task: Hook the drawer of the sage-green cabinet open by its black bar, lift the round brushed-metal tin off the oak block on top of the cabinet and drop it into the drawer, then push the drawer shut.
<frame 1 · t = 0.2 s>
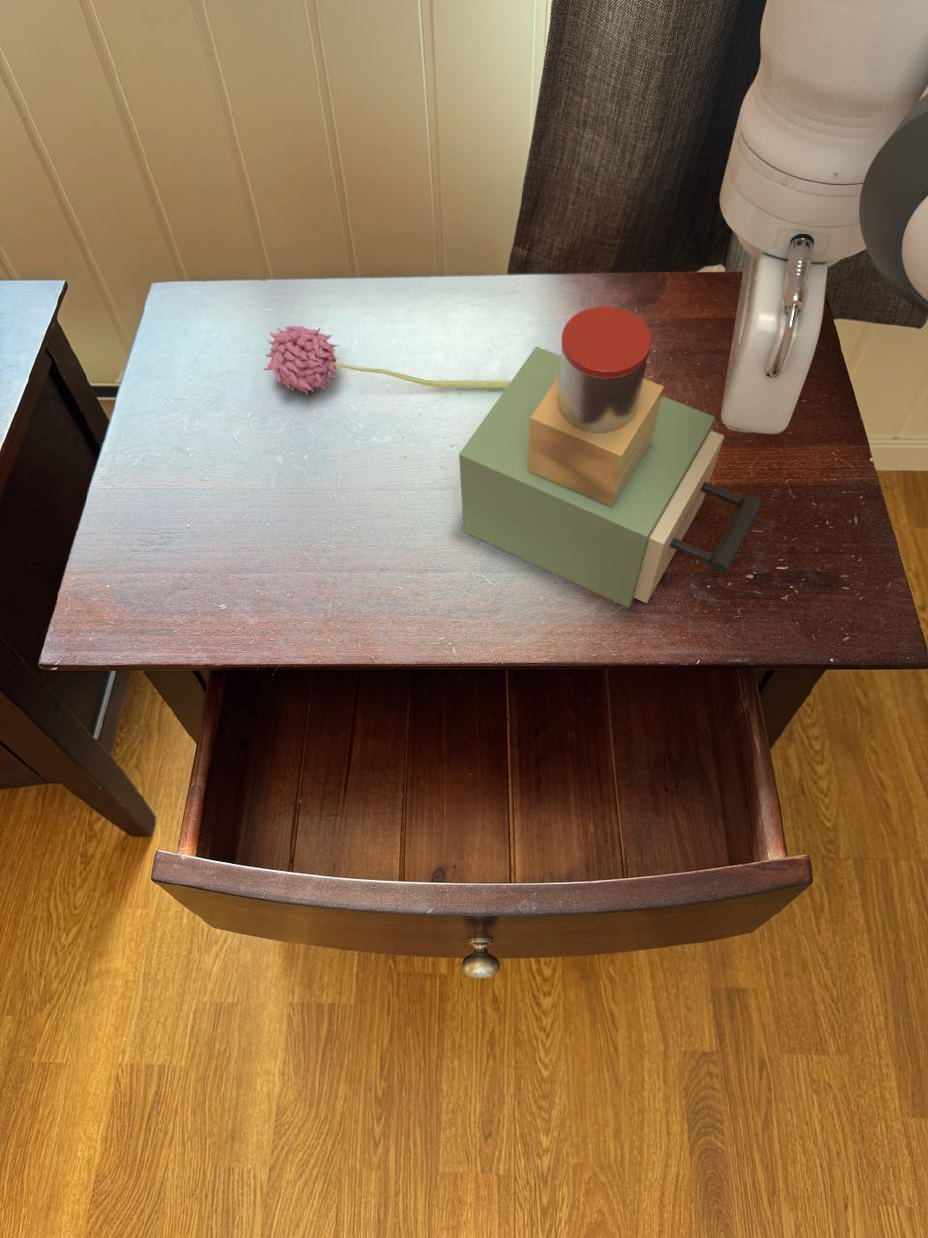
hand: (747, 367, 61), 21 cm above the nightstand, tool pointing down, fingers open, 8 cm apart
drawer: (628, 497, 75), point 5 cm above the nightstand, slide at 0.0 cm, touching cabinet
riser: (590, 455, 70), resting on cabinet
tin: (597, 401, 65), point 17 cm above the nightstand, touching riser
artificial flower: (400, 385, 89), on the nightstand
cabinet: (577, 514, 81), on the nightstand
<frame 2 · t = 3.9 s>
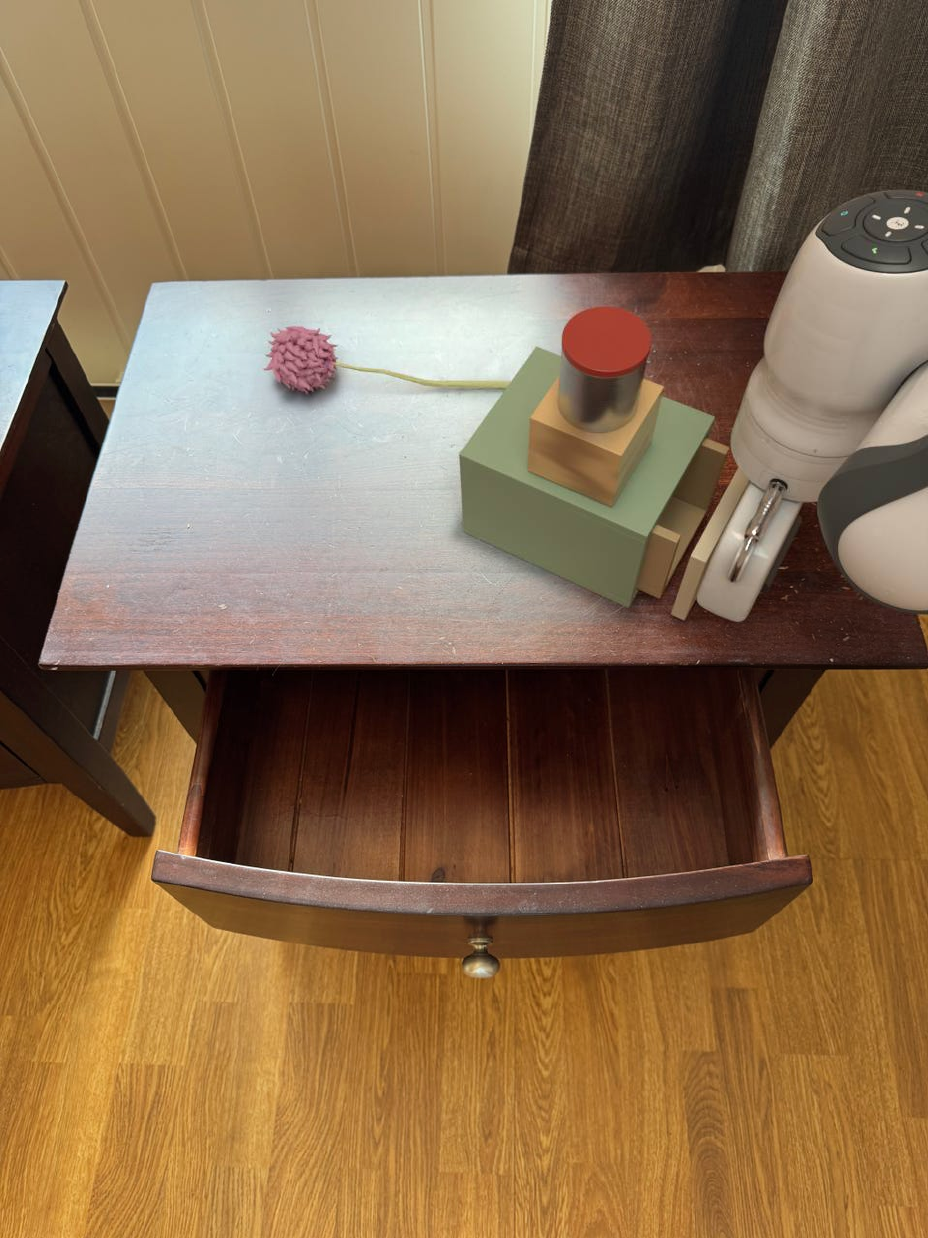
hand: (753, 548, 72), 6 cm above the nightstand, tool pointing down, fingers closed, pressing on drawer
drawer: (666, 513, 74), point 5 cm above the nightstand, slide at 3.3 cm, touching gripper
everything else where it was.
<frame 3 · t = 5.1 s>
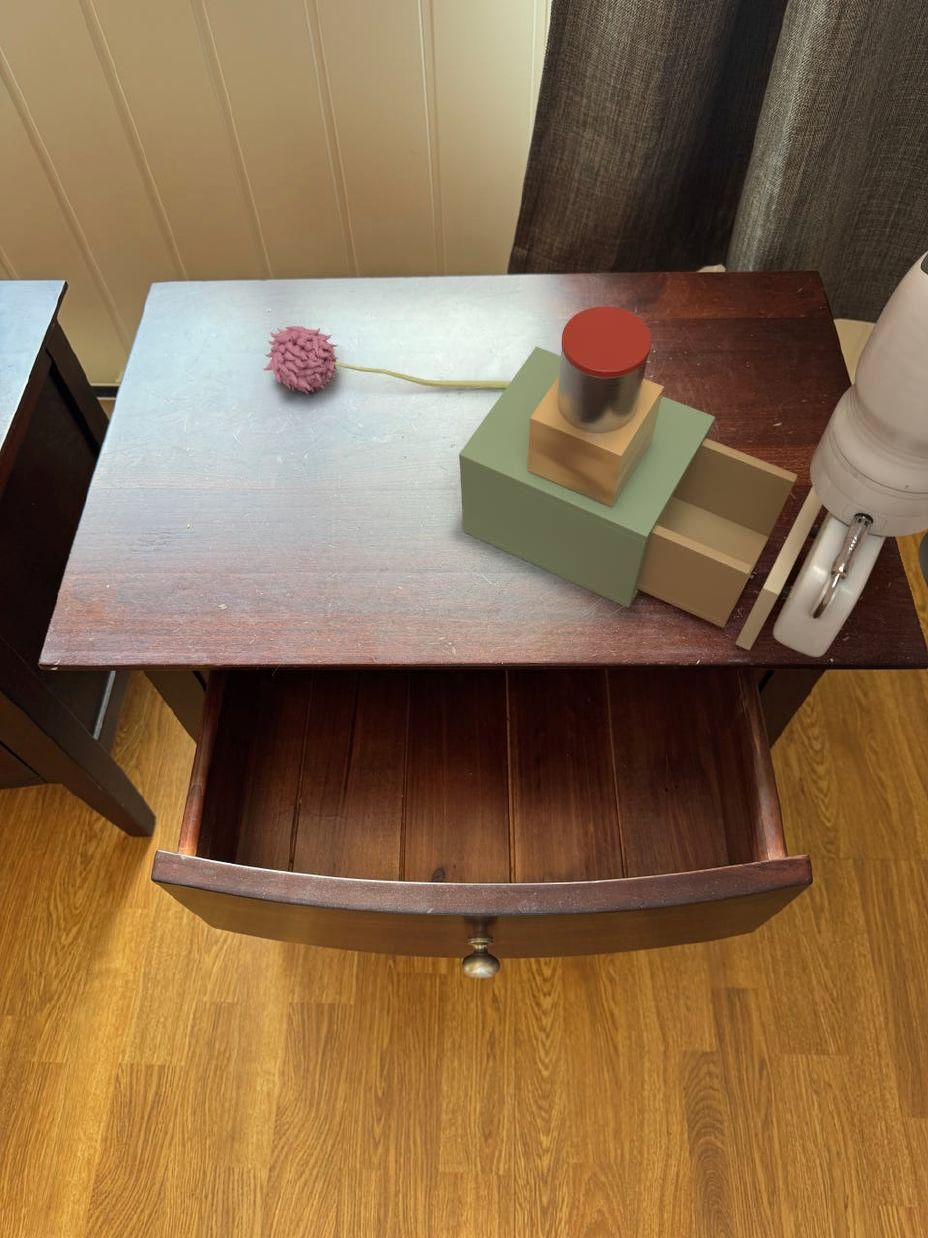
hand: (821, 578, 71), 6 cm above the nightstand, tool pointing down, fingers closed
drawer: (731, 541, 73), point 5 cm above the nightstand, slide at 8.7 cm
everything else where it was.
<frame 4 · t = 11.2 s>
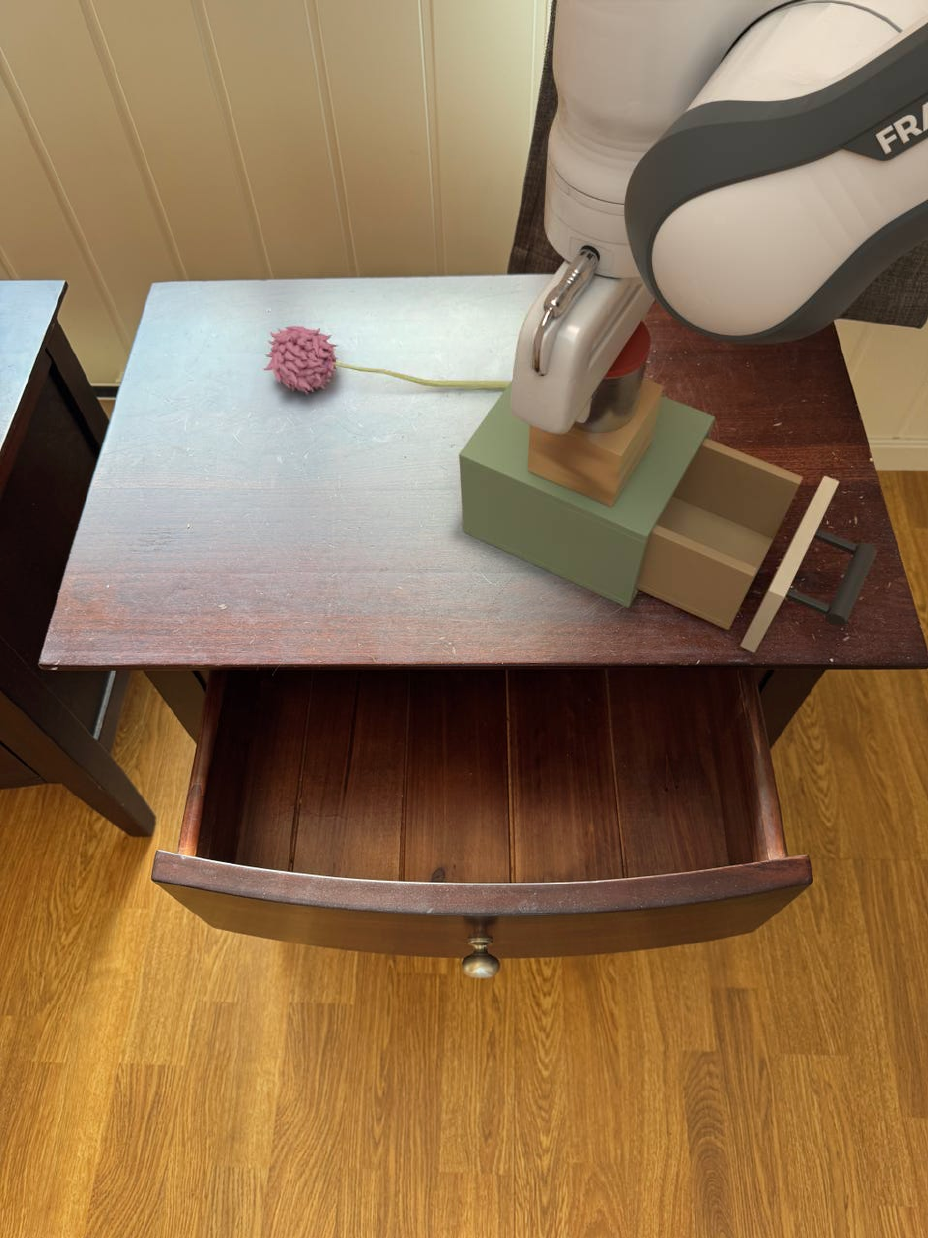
hand: (601, 376, 63), 19 cm above the nightstand, tool pointing down, fingers closed on tin, 5 cm apart
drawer: (735, 543, 73), point 5 cm above the nightstand, slide at 9.2 cm
tin: (597, 401, 65), point 17 cm above the nightstand, touching gripper, riser
everything else where it was.
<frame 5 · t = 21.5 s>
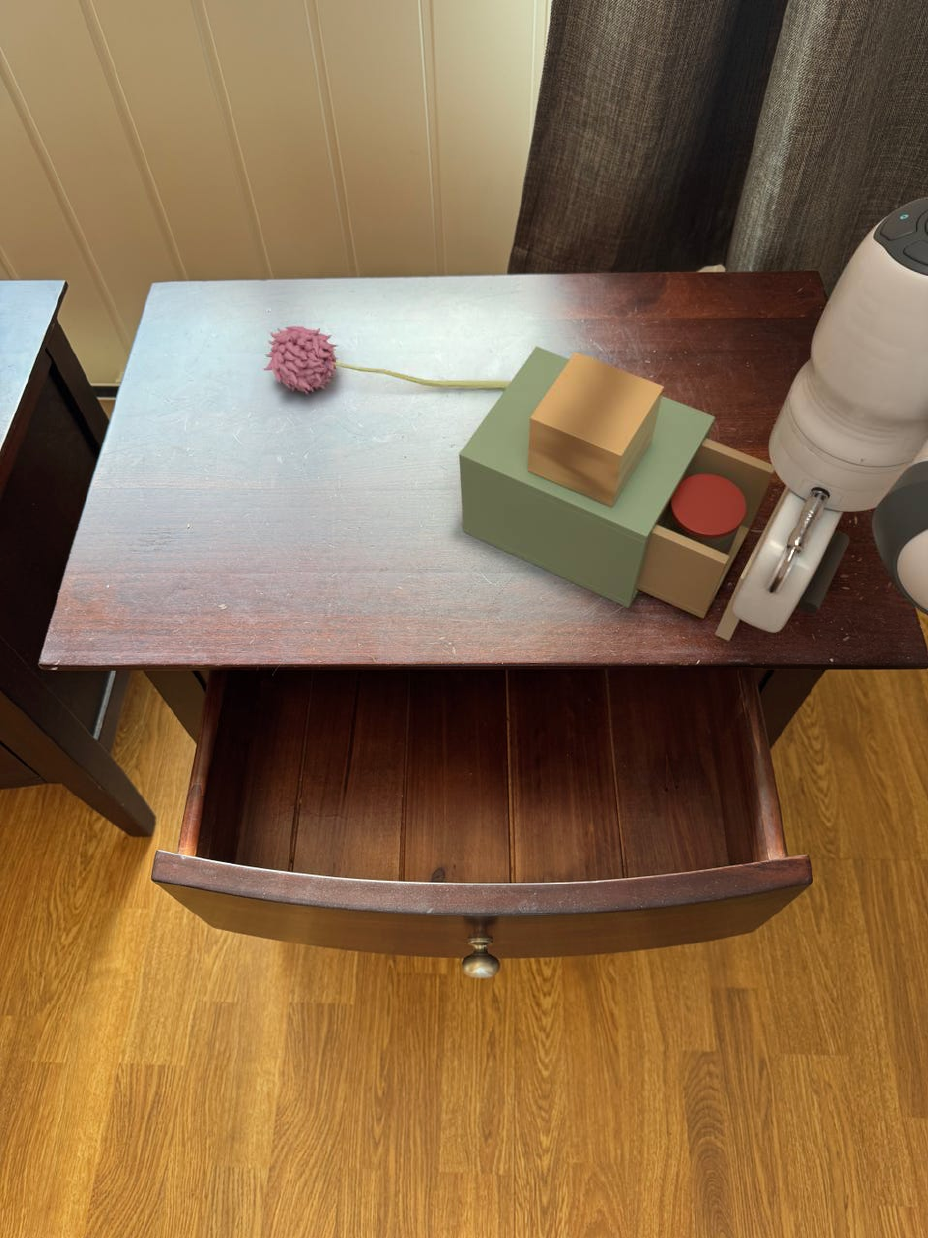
hand: (783, 556, 71), 6 cm above the nightstand, tool pointing down, fingers closed, pressing on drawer
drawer: (710, 532, 73), point 5 cm above the nightstand, slide at 7.0 cm, touching gripper, tin
tin: (693, 546, 77), point 2 cm above the nightstand, touching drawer
everything else where it was.
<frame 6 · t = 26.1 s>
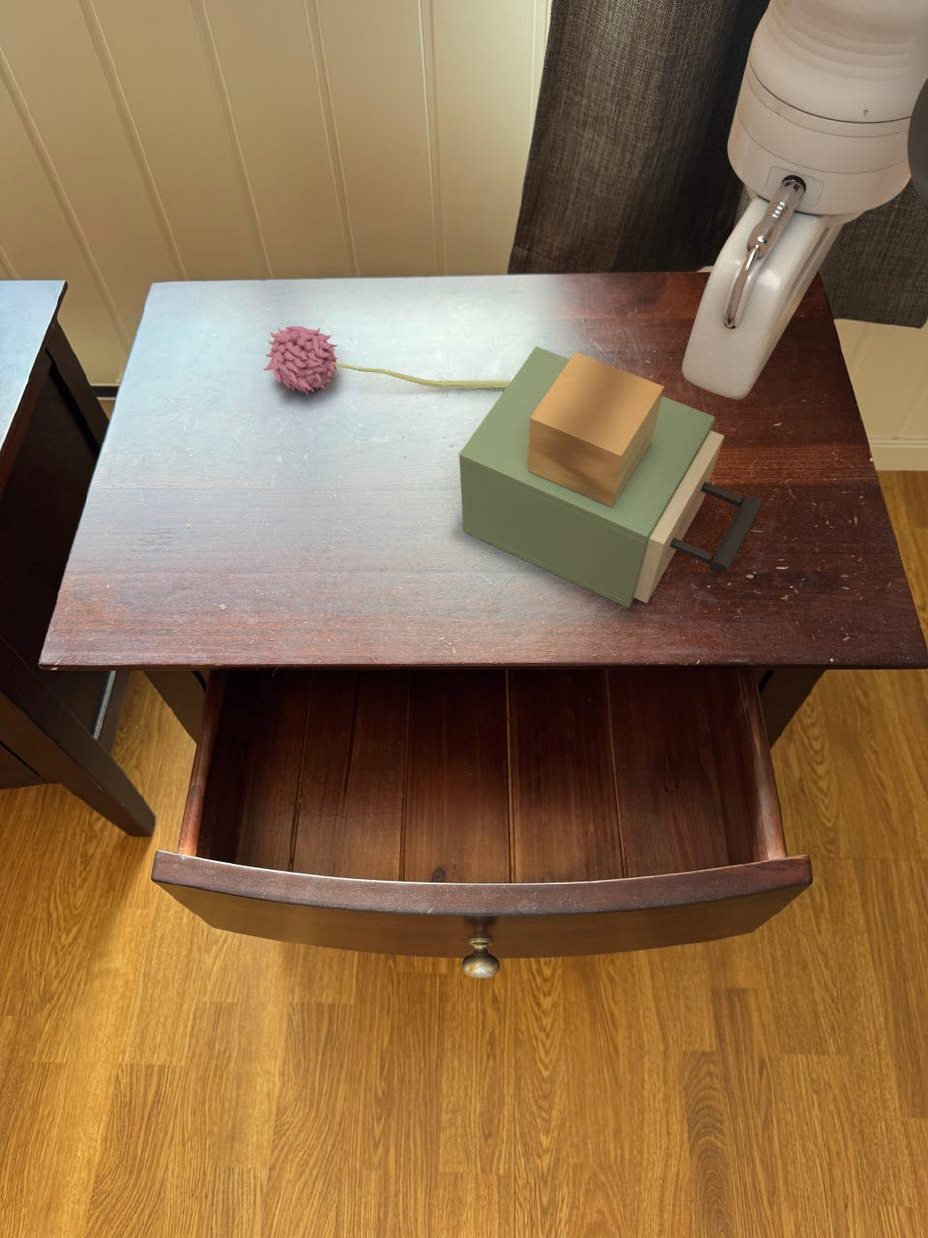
hand: (756, 340, 56), 25 cm above the nightstand, tool pointing down, fingers closed
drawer: (628, 497, 75), point 5 cm above the nightstand, slide at 0.0 cm, touching tin
tin: (615, 512, 78), point 2 cm above the nightstand, touching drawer
everything else where it was.
at the end: tin inside the target area in the cabinet (3.2 cm from its centre), point 2.0 cm above the cabinet's base; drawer slide at 0.0 cm; artificial flower moved 0.2 cm from its start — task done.
